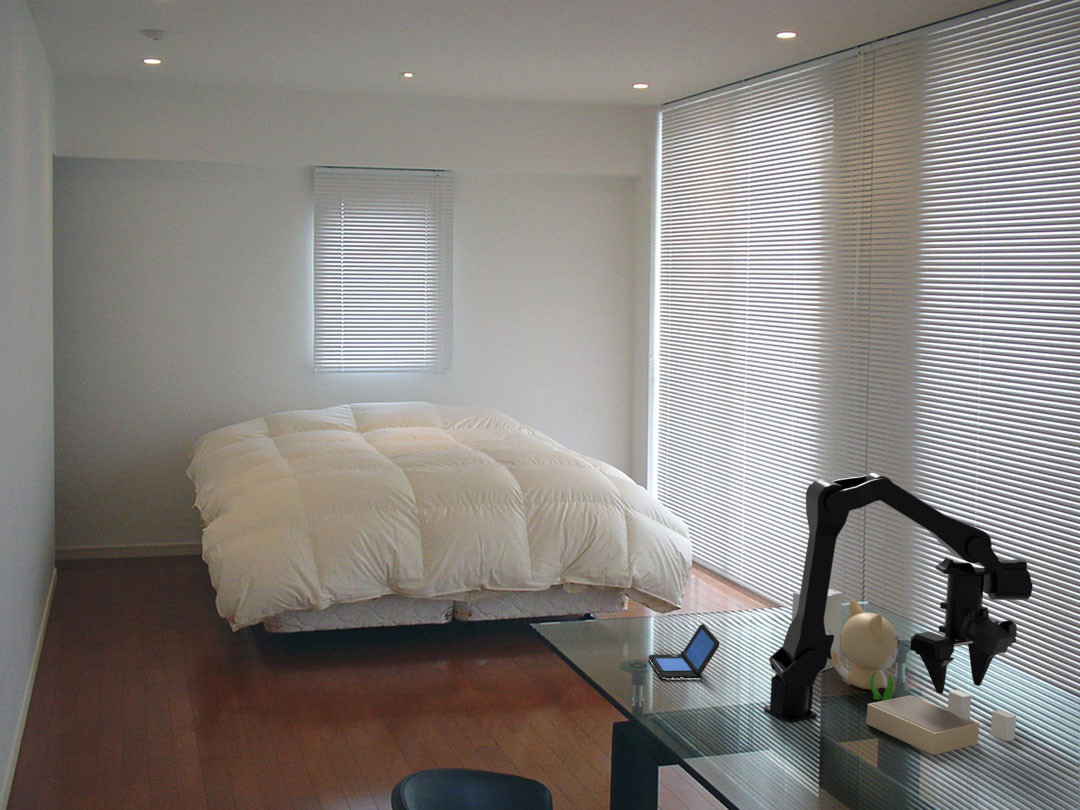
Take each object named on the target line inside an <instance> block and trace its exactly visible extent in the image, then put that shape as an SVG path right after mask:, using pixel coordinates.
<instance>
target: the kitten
mask: <svg viewBox="0 0 1080 810" xmlns="http://www.w3.org/2000/svg"><path fill="white" fill-rule="evenodd" d="M848 617H849V618H848V620H847V621H846V622H845V623H844V625H843V627H842V628H841V629H842V630H841V631H840V645H839V649H840V651H841V654H842V655H843V656H844V658H846V659H847V660H848V661H849V662H851V663H852V664H853V665H852V666H851V667H850V668H849V670H847V669H846V668H845V666H843V664H842V663H841V660H840V656H839V657H838V655H837V653H836V652H835V651H833V650H831V657H832V659H831V660H830V659H829V658H828V660H829V662H830V664H831V665H832V666H833V668H834V669H835V671H836V672H837V673H838V675H840V676H841V677H842V678H843V679H844V680H846V681H848V682H849V683H851V684H852V685H853V686H855V687H856V688H860V689H863V690H871V691H872V694H873V700H876V701H877V700H881V701H885V700H890V699H893V693H894V688H895V684H894V680H893V678H892V675H891V673H890V672H889V673H888V679H887V677H886V673H885V672H884V670H886V669H887V668H890V667H891V666H892V665H893V664H894V663H895V661H896V659H897V656H898V651H899V647H900V646H899V645H900V640H899V636H897V633H896V631H895V628H894V627H893V625H892V624H891V622H889V621H888V620H887V618H886V617H884V616H882V614H881V613H873V612H865V611H864V609H863V607H862V606H861V605H860V603H859V602H858V601H857V600H856V599H852V600H850V602H849V615H848ZM881 688H882V689H885V690H884V693H883V695H882V694H881V693H880V691H879V689H881Z"/></svg>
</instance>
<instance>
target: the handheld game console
mask: <svg viewBox="0 0 1080 810" xmlns="http://www.w3.org/2000/svg"><path fill="white" fill-rule="evenodd" d="M719 646H720V640H718V638H717V637H716V636H715V635H714V634H713V633H712V632H711V630H710V629H708V627H707V626H706V625H705V623H704V624H703V623H701V624H700V625H699V626H698V628H697V629H696V630H695V632H694V633H693V636H692V637H691V638H690V640H689V642H687V645H686V646H685V648H684V650H681V651H680V653H679V654H677V653H675V654H674V653H672V654H668V653H667V654H649V655H648V658H649V659H650V660H651V662H652V663H653V665H654V666H655V668H656V669H657V671H658V672H659V674H660V675H661V676H662V677H665V678H672V677H674V678H680V677H683V678H701V679H702V673H703V672H704V671H705V670H706V668H707V666H708V664H709V663H710V661H711V660H712V658H713V656H714V655H715V653H716V652H717V650H718V649H719V648H720V647H719ZM649 659H648V660H649Z"/></svg>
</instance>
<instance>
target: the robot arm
mask: <svg viewBox="0 0 1080 810" xmlns="http://www.w3.org/2000/svg"><path fill="white" fill-rule="evenodd" d="M879 501H880V502H881V503H883V504H884V505H886V506H888V507H890V508H891V509H892V510H894V511H895V512H898V513H899V514H900V515H902V516H904V517H906V518H907V519H909V520H911V521H912V522H914V523H915V524H916V525H918V526H920V527H921V528H924V529H925V530H926V531H928V532H929V534H931V535H932V536H933V538H935V540H936V541H937V542H938V543H940V544H941V545H942V547H944V548H945V549H946V550H947V551H948V552H949V553H951V554H952V555H954V556H955V557H958V558H960V559H962V560H964V561H965V562H964V561H963V562H960V561H959V562H958V561H957V562H956V561H954V560H953V559H952V558H949V557H945V558H944V560H942V561H941V562H939V563H937V565H935V569H936V570H937V572H940V573H942V574H943V575H947V581H946V582H947V583H946V597H945V600H946V601H941V602H940V604H939V605H940V606H939V608H940V609H942V610H945V611H944V612H945V613H944V624H942V625H938V632H939V633H941V634H937V633H935V632H933V631H931V630H929V631H925V632H918V633H914V634H913V635H912V636H911V637H910V646H909V647H910V649H909V650H911V651H914V652H915V654H916V655H919V657H920V659H921V661H922V662H923V664H924V666H925V668H926V670H927V672H928V675H929V677H930V679H931V680H930V681H932V685H933V688H934V690H935V691H936V693H937V694H940V695H941V694H943V693H944V689H945V684H946V677H947V669H948V665H949V664H950V663H952V662H953V661H954V660H955V657H952V655H953V653H954V652H955V647H960V646H965V645H966V646H967V647H968V655H969V662H970V669H971V677H972V683H973V685H974V686H977V687H980V686H981V685H982V683H983V680H984V678H985V676H986V675H987V672H988V670H989V667H990V665H991V663H992V661H993V659H994V658H995V656H996V655H999V654H1001V653H1002V654H1005V653H1007V651H1008V648H1009V647H1010V646H1011V647H1012V645H1013V644H1015V643H1017V638H1016V637H1017V635H1018V631H1017V623H1015V622H1014V621H1012V619H1009V620H1008V619H1007V620H1003V621H1001V622H1000V621H998V620H996V621H994V620H992V619H991V618H990V616H989V615H990V612H989V610H988V607H986V606H983V599H984V598H983V597H984V593H985V594H986V595H987V596H988V597H989V599H990V600H993V601H1027V600H1029V599H1030V598H1031V596H1032V594H1033V593H1032V592H1033V583H1032V578H1031V575H1030V572H1029V570H1028V568H1027V567H1028V562H1027V561H1025V560H1023V559H1019V558H1014V559H1010V560H1009V559H999V557H998V556H997V555H996V553H995V551H994V550H993V548H992V545H993V544H992V538H991V536H990V534H988V533H987V532H986V531H985V530H982V529H980V528H978V527H975V526H973V525H971V524H969V523H967V522H964V521H962V520H959V519H956V518H955V517H951V516H948V515H947V514H944V513H942V512H940V511H939V510H937V509H936V508H934V507H933V506H931V505H930V504H928V503H926V502H924V501H923V500H922V499H920V498H918V497H917V496H915V495H914V494H912V493H910V492H908V491H907V490H905V489H904V488H902V487H900V485H897V484H896V483H894V482H893V481H892V480H891V478H889V477H887V476H885V475H882V474H880V473H877V472H871V473H868V474H865V475H861V476H854V477H847V478H846V477H845V478H839V479H836V480H835V479H834V480H832V479H831V480H830V479H827V478H819V479H817V480H814V481H813V482H812V483H810V484H809V485H808V487H807V489H806V492H805V510H806V511H805V512H806V519H807V525H808V538H807V539H808V541H807V547H806V552H805V553H806V554H805V561H804V567H803V574H802V579H801V587H800V590H799V591H800V598H799V605H798V611H797V614H796V616H795V618H794V619H793V621H792V620H791V623H789V626H788V629H787V631H786V634H785V637H784V639H783V640H784V641H783V645H781V647H779V649H778V650H776V651H775V652H774V653H773V654H772V655H770V657H769V658H768V661H769V664H770V668H771V670H772V671H774V672H775V674H774V676H771V680H770V681H771V683H770V699H769V700H770V703H769V705H765V706H763V710H764V711H766V712H768V713H769V714H771V715H774V716H775V717H777V718H779V719H782V720H784V721H785V722H789V723H791V722H796V721H800V720H805V719H810V718H811V719H812V718H816V717H818V713H817V712H816V711H813V710H812V709H813V696H814V684H815V682H816V679H817V677H818V675H819V673H821V672H822V671H821V670H823V669H824V668H825V666H826V664H827V660H828V658H829V659H830V660H831V659H832V657H831V647H832V644H833V641H834V635H833V634H832V633H831V632H830V631H829V630H828V629H827V628H826V627H825V625H824V616H825V610H826V603H827V597H828V590H829V589H830V582H831V578H832V577H831V576H832V570H833V562H834V556H835V551H836V550H835V549H836V546H837V545H836V544H837V539H838V536H839V535H840V533H841V531H842V530H843V528H844V527H845V525H846V523H847V519H848V518H849V514H850V511H853V510H854V511H855V510H858V509H862V508H864V507H866V506H868V505H870V504H872V503H875V502H879ZM973 564H978V565H980V566H982V567H974V565H973ZM942 634H944V636H943V635H942ZM820 671H821V672H820Z"/></svg>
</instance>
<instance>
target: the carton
mask: <svg viewBox="0 0 1080 810" xmlns="http://www.w3.org/2000/svg"><path fill="white" fill-rule="evenodd" d="M866 725H868V726H870V727H872V728H874V729H876V730H878V731H880V732H883V733H885V734H887V735H889V736H892V737H894V738H896V739H898V740H900V741H902V742H905V743H907V744H909V745H911V746H913V747H915V748H918V749H919V750H921V751H924V752H926V753H928V754H930V755H931V756H935V755H939V754H944V753H946V752H947V753H948V752H951V751H955V750H961V749H964V748H968V747H971V746H973V747H974V746H976V745H978V744H979V730H980V723H979V722H977V721H974V720H972V719H970V718H965V717H962V716H960V715H957V714H955V713H952V712H950V711H948V709H945V708H943V707H941V706H938V705H936V704H933V703H930V702H928V701H926V700H923V699H921V698H918V697H916V696H914V695H912V694H911V695H906V696H902V697H901V696H900V697H896V698H892V699H890V700H885V701H883V700H881V701H877V702H871V703H867V709H866Z"/></svg>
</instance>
